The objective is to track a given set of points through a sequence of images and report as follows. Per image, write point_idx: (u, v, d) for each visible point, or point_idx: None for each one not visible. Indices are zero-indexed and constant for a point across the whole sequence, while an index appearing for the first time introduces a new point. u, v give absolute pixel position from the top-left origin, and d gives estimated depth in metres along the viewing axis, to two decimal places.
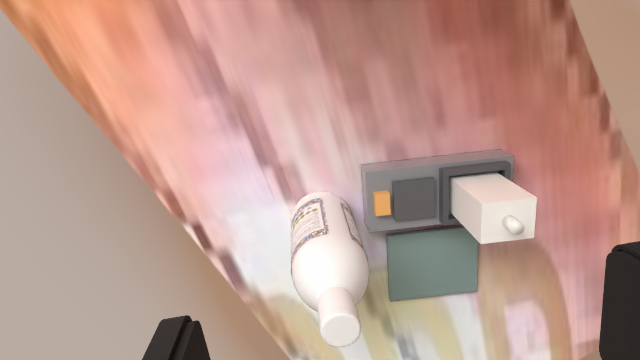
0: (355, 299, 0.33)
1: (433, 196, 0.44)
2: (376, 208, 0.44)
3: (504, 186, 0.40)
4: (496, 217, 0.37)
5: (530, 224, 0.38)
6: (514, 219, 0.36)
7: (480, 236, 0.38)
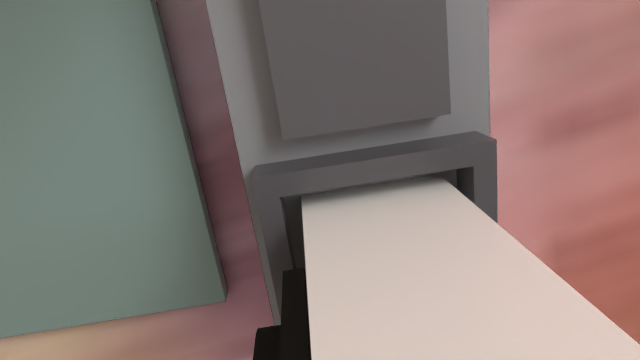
0: None
1: (372, 121, 0.11)
2: None
3: None
4: None
5: None
6: None
7: None
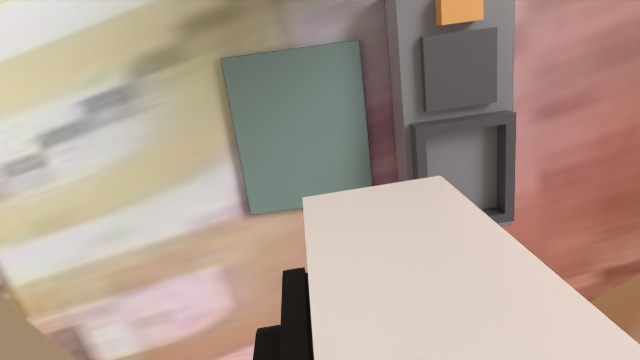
0: None
1: (464, 104, 0.25)
2: None
3: None
4: None
5: None
6: None
7: None
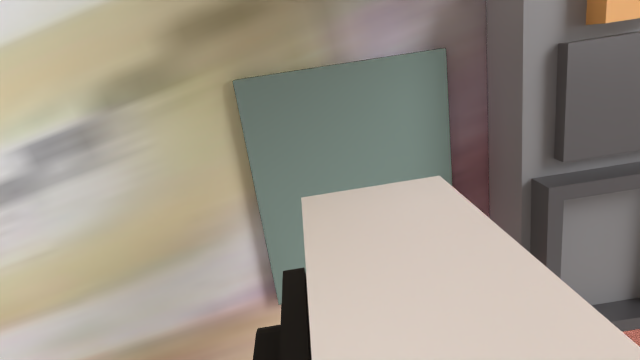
0: None
1: (623, 149, 0.16)
2: None
3: None
4: None
5: None
6: None
7: None
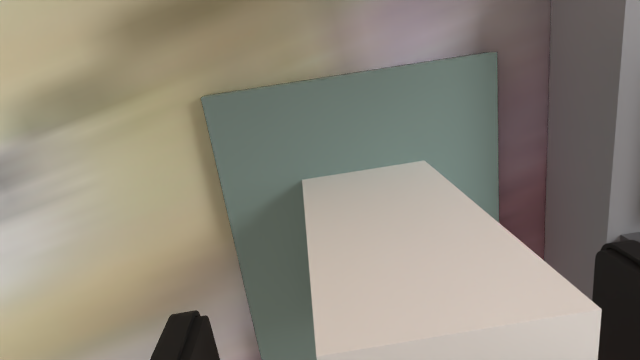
0: None
1: None
2: None
3: None
4: None
5: None
6: None
7: (369, 342, 0.06)
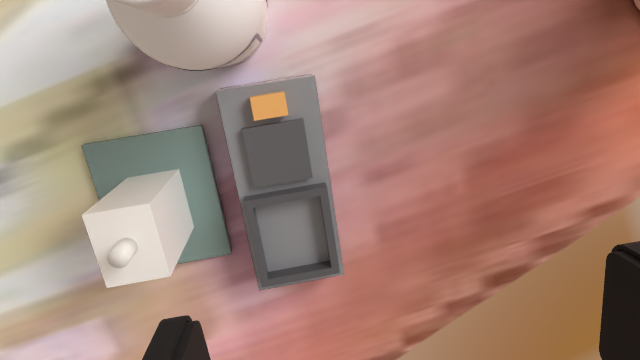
0: (167, 22, 0.15)
1: (285, 180, 0.30)
2: (262, 97, 0.28)
3: (178, 236, 0.29)
4: (129, 228, 0.25)
5: (127, 278, 0.26)
6: (132, 252, 0.24)
7: (95, 212, 0.25)
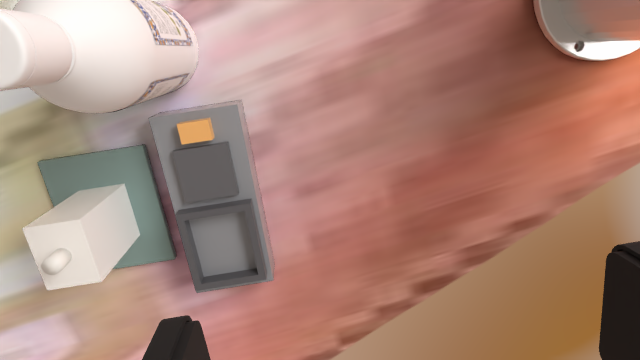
0: (50, 87, 0.19)
1: (213, 197, 0.34)
2: (188, 124, 0.32)
3: (116, 245, 0.33)
4: (64, 240, 0.29)
5: (64, 282, 0.30)
6: (64, 261, 0.28)
7: (33, 226, 0.29)
